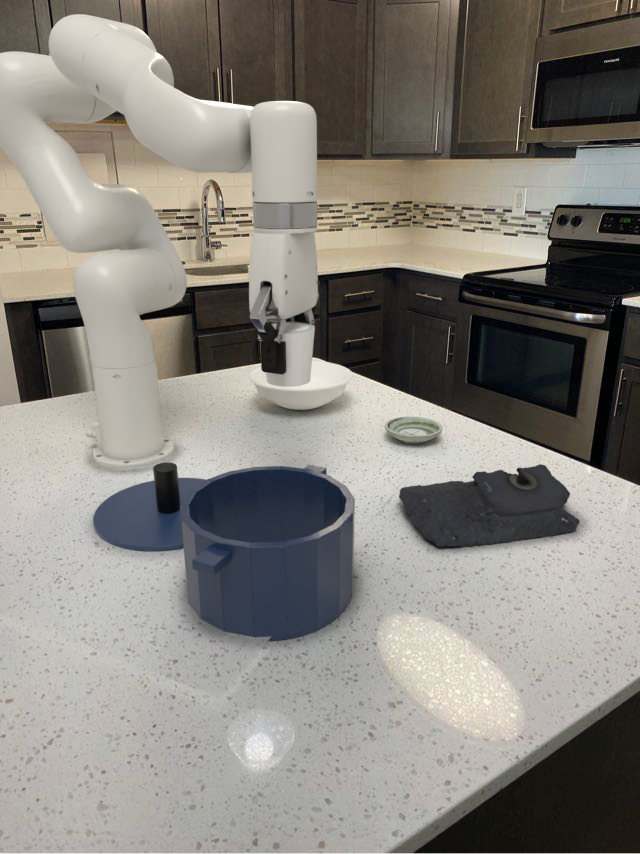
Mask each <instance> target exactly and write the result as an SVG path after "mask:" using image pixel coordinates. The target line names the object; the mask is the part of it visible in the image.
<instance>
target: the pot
mask: <svg viewBox="0 0 640 854" xmlns="http://www.w3.org/2000/svg"><path fill="white" fill-rule="evenodd" d="M327 469H328V468H327V467H323V466H319V465H314V464H313V465H312V464H307V465H306V466H305V467H304V468H303V467H293V466H285V465H271V466H269V465H268V466H267V465H266V466H251V467H247V468H239V469H235V470H229V471H226V472H224V473H222V474H218V475H216V476H212V477H210V478H207V479H205V481H203V482H202V483H200V484H199V485H197V486H196V487H194V488H193V489H191V490H190V491H189V492H188V493H187V495H186V496H185V498H184V500H183V501H182V503H181V504H180V512H181V524H182V535H183V546H184V548H183V556H184V568H185V569H184V570H185V579H186V589H187V598H188V600H187V601H188V605H189V606H190V607H191V608H192V610H193V611H194V612H195V613H196V615H197V616H198V617H199V619H200V620H201V621H203V622H205V623H207V624H209V625H210V626H212V627H215V628H217V629H219V630H221V631H222V632H224V633H230V634H235V635H241V636H246V637H251V638H268V637H269V639H268V640H267V642H275V641H285V640H291V639H296V638H299V637H302V636H306V635H309V634H311V633H314V632H317V631H319V630H321V629H322V628H324V627H325V628H326V626H328V625H330V624H331V623H333V622H334V621H335V620H336V619H337V618H339V617H340V616H341V615H342V614H343V612H344V611H346V609H347V607H348V606H349V604H350V602H351V599H352V596H353V590H354V589H353V587H354V566H355V563H354V562H355V561H354V560H355V513H356V512H355V511H356V509H355V508H356V507H355V506H356V499H355V497H354V496H353V494H352V493H351V491H350V489H349V488H348V486H347V485H345V484H344V483H342V482H340V481H339V480H337V479H336V478H334V477H332V476H331V475H328V474H327V473H328V472H327V471H328V470H327Z"/></svg>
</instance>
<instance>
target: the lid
mask: <svg viewBox="0 0 640 854" xmlns="http://www.w3.org/2000/svg"><path fill="white" fill-rule="evenodd" d="M152 471H153V473H152V474H153V480H149V481H144V482H141V483H137V484H134V485H132V486H131V485H130V486H128V487H126V488H124V489H121V490H119V491H117V492H116V493H113V494H112V495H110V496H109V497H107V498H106V499H105V500H103V501H102V502H101V503H100V504H99V505H98V507H97V508H96V510H95V512H94V514H93V517H92V523H93V529H94V530H95V533H96V534H97V536H99V537H100V538H101V539H102V540H103V541H105V542H107V543H109V544H110V545H113V546H116V547H118V548H123V549H127V550H133V551H142V552H163V551H173V550H179V549H180V550H181V549H184V546H183V535H182V524H181V512H180V504H181V503H182V501H183V500H184V498H185V496H186V495H187V493H188V492H189V491H190V490H191V489H193V488H194V487H196V486H197V485H199V484H200V483H202V482H203V481H205V480H206V478H198V477H179V474H178V473H179V472H178V465H177V464H176V463H174V462H160V463H156V464H155V465H154V466H153V467H152Z"/></svg>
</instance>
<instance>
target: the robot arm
mask: <svg viewBox="0 0 640 854" xmlns="http://www.w3.org/2000/svg"><path fill="white" fill-rule="evenodd" d="M48 52H49V55H47V54H41V53H34V52H27V51H15V50H14V51H4V52H0V148H1V150H2V151H3V152H4V154H6V156H7V157H8V159H9V160H10V161H11V163H12V164H13V165H14V166H15V169H17V171H18V172H19V174H20V176H21V178H22V179H23V181H24V183H25V185H26V186H27V189H28V190H29V193H30V195H31V196H32V198H33V199H34V201H35V203H36V205H37V207H38V208H39V210H40V212H41V214H42V216H43V218H44V220H45V221H46V223H47V225H48V227H49V229H50V230H51V232H52V234H53V236H54V237H55V238H56V240H57V242H58V243H59V245H60V246H62V248H63V249H65V250H66V251H68V252H71V253H75V254H87V253H97V254H94V255H91V256H89V257H87V258H86V259H83V261H82V262H81V263H79V265H78V266H77V267H76V268H75V271H74V273H73V278H72V288H73V294H74V298H75V301H76V304H77V306H78V309H79V312H80V315H81V319H82V321H83V325H84V329H85V333H86V339H87V344H88V352H89V359H90V364H91V371H92V379H93V386H94V394H95V401H96V410H97V418H98V420H93V421H92V422H91V423H90V426H89V428H87V429H86V431H85V436H86V437H87V438H91V439H92V438H93V439H96V446H95V447H94V449H93V451H92V459H93V461H94V462H96V463H97V464H98V465H100V466H103V467H108V468H114V469H115V468H116V469H134V468H141V467H146V466H149V465H150V466H151V465H154V464H158V463H159V462H160V463H161V462H162V461H164V460H166V459H168V458H169V457H170V456H172V454H173V453H174V451H175V443H174V442H173V440H172V439H170V438H168V437H166V436H164V429H163V419H162V417H163V416H162V407H161V399H160V387H159V386H160V385H159V375H158V366H157V365H158V364H157V358H156V356H157V355H156V347H155V343H154V340H153V337H152V335H151V334H150V332H149V330H148V329H147V328H146V326H145V324H144V322H143V321H142V319H141V317H140V316H142V315H144V314H148V313H153V312H157V311H161V310H164V309H168V308H172V307H173V306H175V305H177V304H179V303H180V302H181V301H182V299H183V298H184V297H185V294H186V292H187V287H188V285H187V283H188V281H187V279H188V278H187V274H186V270H185V267H184V264H183V262H182V260H181V257H180V255H179V254H178V252H177V250H176V248H175V246H174V245H173V242H172V240H171V239H170V237H169V234H168V233H167V231H166V230H165V227H164V225H163V223H162V222H161V220H160V218H159V216H158V215H157V213H156V211H155V209H154V208H153V205H152V204H151V203H150V201H149V200H148V199H147V197H146V196H145V195H143V193H141V192H140V191H139V190H137V188H134V187H132V186H129V185H126V184H118V183H116V184H113V183H109V184H108V183H107V184H102V183H98V182H96V181H95V180H94V179H93V178H92V177H91V176H90V175H89V173H88V171H87V169H86V168H85V166H84V165H83V162H82V160H81V158H80V156H79V155H78V153H77V152H76V151H75V149H74V148H73V147H72V146H71V145H70V144H69V142H67V140H65V139H64V138H63V137H62V136H61V135H60V134H58V133H57V132H56V131H55V130H54V129H53V128H51V127H50V126H49V125H48V124H47V123H46V122H51V123H52V122H54V123H68V124H82V125H85V124H93V123H97V122H99V121H102V120H104V119H105V118H108V117H109V116H111V115H112V114H114V113H116V112H118V113H120V114H122V116H124V119H125V121H126V122H125V123H126V124H127V126H128V128H129V130H130V131H131V133H132V135H133V136H134V138H135V139H136V140H137V141H138V142H139V143H140V144H141V145H143V146H144V147H145V148H147V149H148V150H150V151H151V152H153V153H155V154H156V155H158V156H160V157H161V158H162V159H164V160H166V161H167V162H169V163H171V164H172V165H174V166H177V167H178V168H181V169H183V170H186V171H189V172H193V173H200V174H201V173H206V174H207V173H227V174H228V173H229V174H240V173H242V174H245V173H251V189H252V217H253V218H252V219H253V232H252V237H251V245H250V252H249V253H250V254H249V269H248V271H249V272H248V307H249V313H250V314H249V319H250V322H251V323H252V324H253V326H254V330H255V332H256V333H257V340H258V341H259V342H260V367H261V369H262V371H263V372H267V373H274V374H284V373H286V342H284V341H282V339H283V334H284V329H285V323H286V322H287V320H288V319H290V322H302V323H307V324H311V325H313V326H315V324H316V323H315V322H316V321H315V314H316V312H317V307H316V306H317V303H318V300H319V297H320V293H319V276H318V274H319V273H318V257H317V256H318V254H317V245H316V236H315V233H317V232H318V120H317V113H316V111H315V108H314V107H313V106H312V105H311V104H309V103H306V102H301V101H294V100H272V101H271V100H270V101H264V102H260V103H257V104H255V106H251V105H246V104H245V105H244V104H237V103H236V104H235V103H231V102H224V101H217V100H208V99H207V100H206V99H199V98H195V97H193V96H191V95H188V94H186V93H184V92H183V91H181V90H180V89H178V88H175V77H174V73H173V68H172V67H171V65H170V63H169V61H168V60H167V59H166V57H164V55H162V54H160V53H159V52H157V48H156V47H155V44H154V41H152V39H151V38H150V37H149V36H148V35H147V34H146V33H145V32H144V30H142V29H140V28H139V27H137V26H135V25H132V24H129V23H125V22H121V21H116V20H112V19H108V18H103V17H99V16H95V15H89V14H83V13H78V14H77V13H75V14H69V15H66V16H64V17H62V18H60V19H59V20H58V21H57V22H56V23H55V24H54V25H53V27H52V29H51V30H50V33H49V36H48ZM98 252H101V253H98ZM273 312H276V314H271V313H273ZM276 322H277V325H276V330H275V328H274V327H273V325H272V324H271V323H276ZM313 358H314V353H313V354H312V359H313Z"/></svg>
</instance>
